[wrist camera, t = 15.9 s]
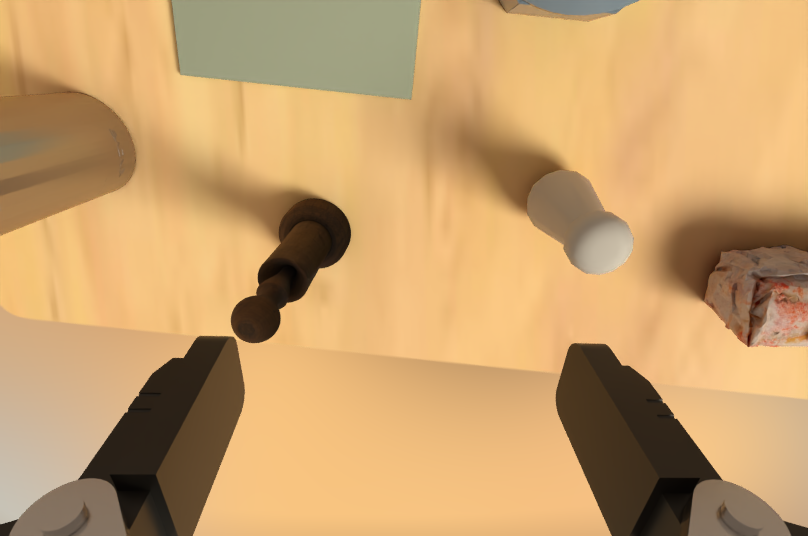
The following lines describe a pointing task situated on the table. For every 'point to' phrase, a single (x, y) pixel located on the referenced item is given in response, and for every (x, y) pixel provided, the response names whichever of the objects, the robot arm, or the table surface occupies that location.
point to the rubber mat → (301, 43)
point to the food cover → (566, 8)
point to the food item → (762, 295)
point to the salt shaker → (579, 222)
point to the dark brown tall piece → (292, 266)
